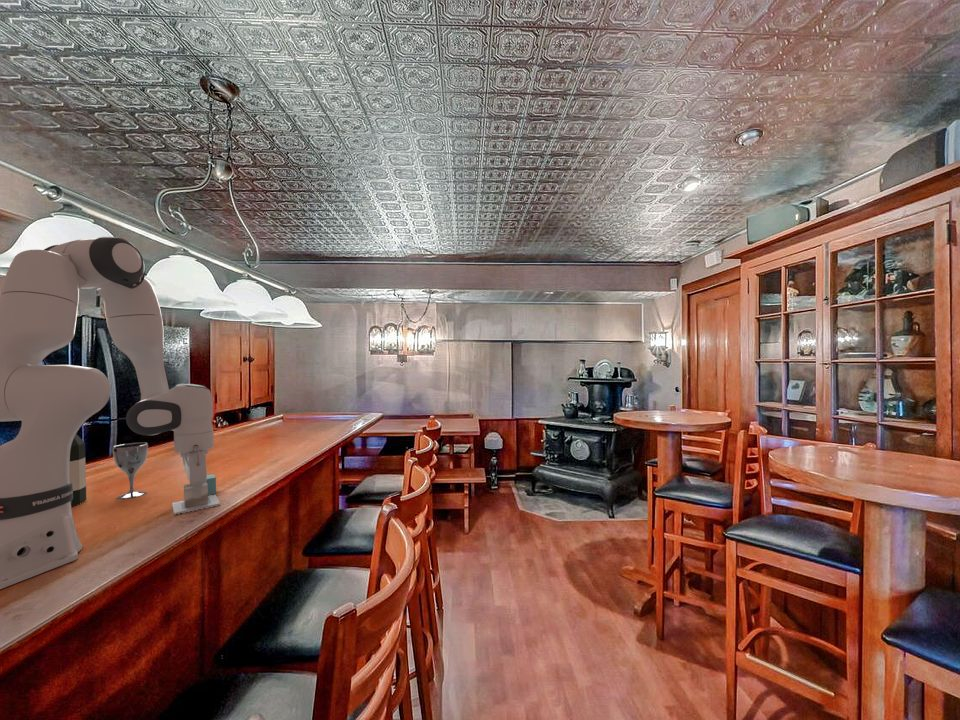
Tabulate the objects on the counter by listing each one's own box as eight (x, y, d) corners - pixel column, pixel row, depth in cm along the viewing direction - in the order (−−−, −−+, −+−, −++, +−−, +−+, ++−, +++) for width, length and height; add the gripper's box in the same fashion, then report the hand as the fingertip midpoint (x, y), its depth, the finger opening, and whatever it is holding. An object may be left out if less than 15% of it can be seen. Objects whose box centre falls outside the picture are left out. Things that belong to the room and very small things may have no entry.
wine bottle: (64, 509, 108) (61, 399, 108) (34, 510, 109) (31, 400, 109) (94, 499, 117) (92, 396, 117) (66, 499, 117) (64, 397, 117)
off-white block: (208, 503, 109) (207, 484, 109) (185, 507, 106) (184, 488, 106) (206, 498, 113) (205, 480, 113) (184, 502, 110) (183, 484, 110)
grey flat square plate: (220, 505, 109) (220, 503, 109) (173, 515, 102) (173, 512, 102) (215, 496, 116) (215, 494, 116) (172, 504, 110) (172, 502, 110)
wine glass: (156, 491, 123) (154, 442, 123) (130, 500, 115) (128, 448, 115) (133, 490, 124) (132, 442, 124) (106, 499, 116) (104, 447, 116)
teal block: (216, 494, 119) (215, 477, 119) (195, 498, 116) (195, 481, 116) (214, 490, 123) (213, 474, 123) (194, 494, 119) (193, 477, 119)
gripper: (212, 446, 103) (214, 500, 103) (204, 436, 119) (205, 482, 119) (182, 450, 99) (183, 506, 99) (177, 439, 115) (179, 487, 115)
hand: (195, 493), depth 109 cm, fingers open, 8 cm apart
